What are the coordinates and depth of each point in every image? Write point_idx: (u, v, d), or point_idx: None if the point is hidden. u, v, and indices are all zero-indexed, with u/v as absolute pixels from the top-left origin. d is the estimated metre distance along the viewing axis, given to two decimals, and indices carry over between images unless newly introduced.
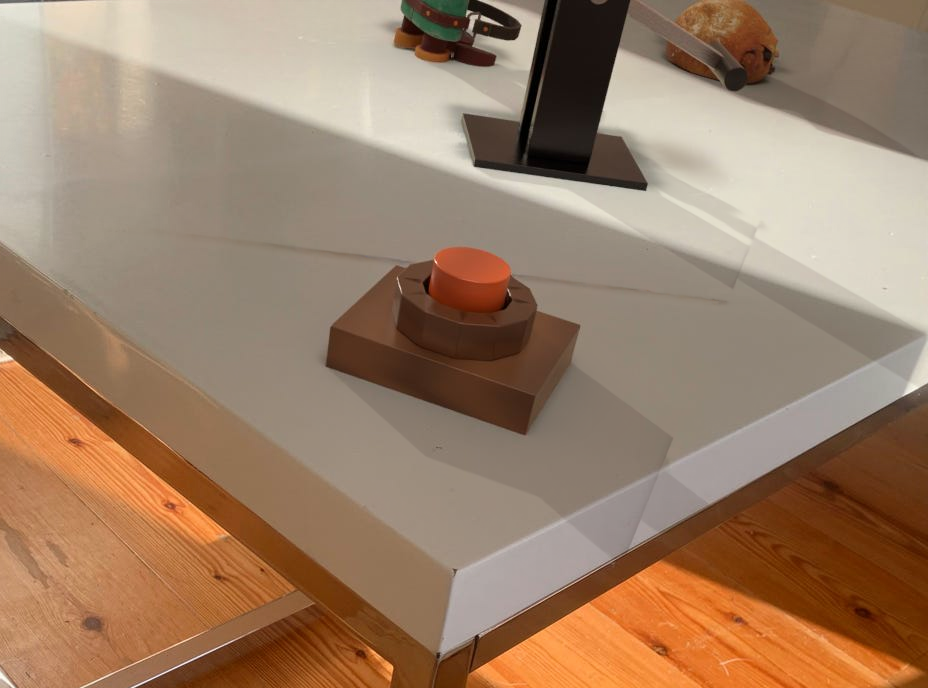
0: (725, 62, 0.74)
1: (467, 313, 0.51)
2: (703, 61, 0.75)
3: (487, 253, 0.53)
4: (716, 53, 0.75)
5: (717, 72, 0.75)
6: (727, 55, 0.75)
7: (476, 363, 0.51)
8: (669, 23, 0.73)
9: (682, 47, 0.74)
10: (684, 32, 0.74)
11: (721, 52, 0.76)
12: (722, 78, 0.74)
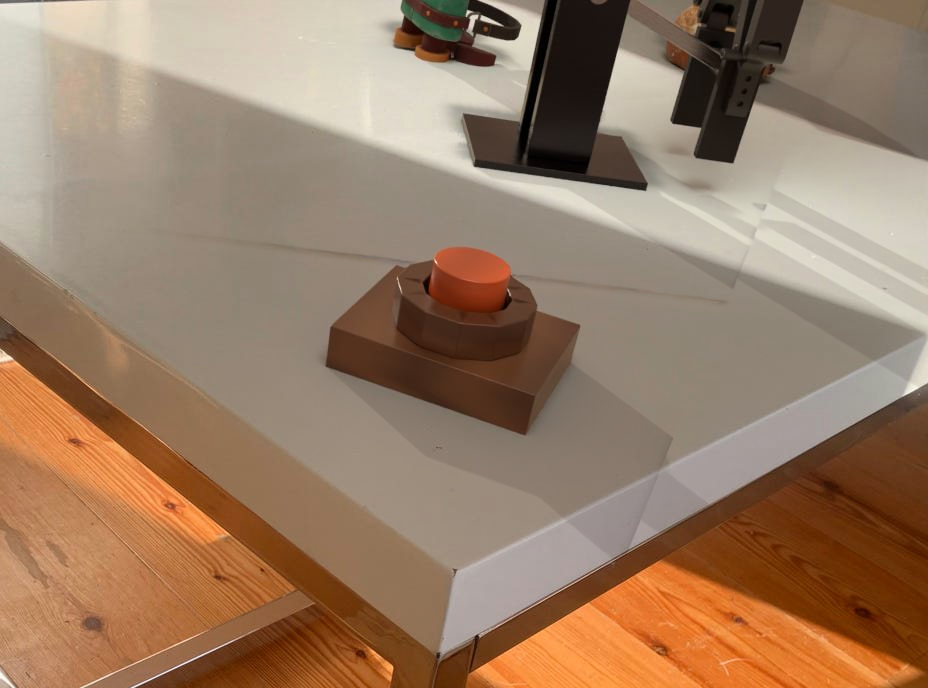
0: None
1: (467, 313, 0.51)
2: (703, 61, 0.75)
3: (487, 253, 0.53)
4: (716, 53, 0.75)
5: (717, 72, 0.75)
6: None
7: (476, 363, 0.51)
8: (669, 23, 0.73)
9: (682, 47, 0.74)
10: (684, 32, 0.74)
11: None
12: None
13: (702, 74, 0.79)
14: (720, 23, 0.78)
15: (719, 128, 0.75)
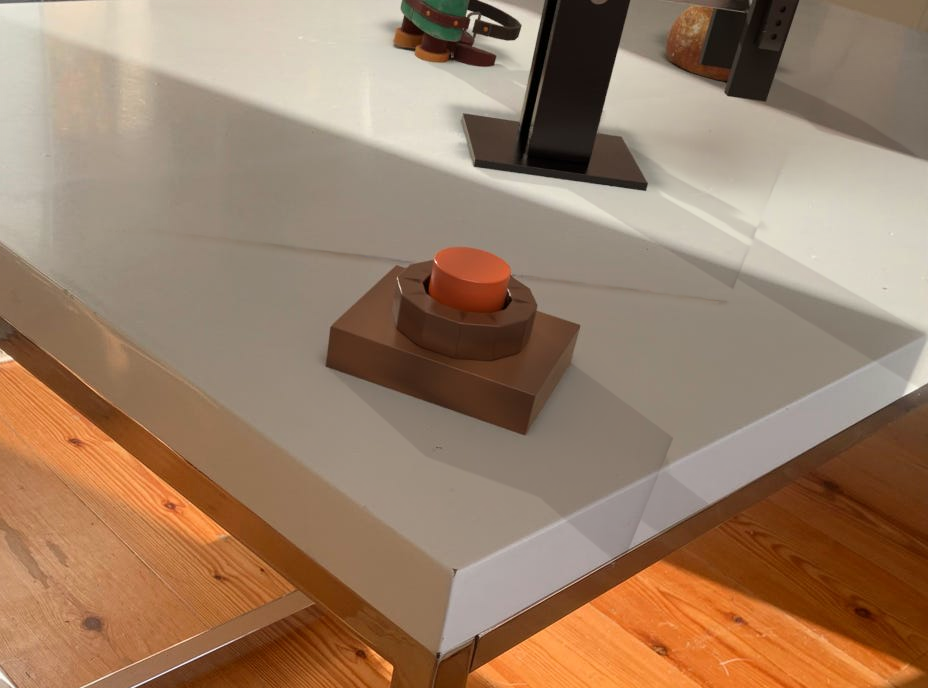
0: (751, 2, 0.72)
1: (467, 313, 0.51)
2: (730, 8, 0.73)
3: (487, 253, 0.53)
4: None
5: (747, 14, 0.73)
6: None
7: (476, 363, 0.51)
8: None
9: (703, 4, 0.73)
10: None
11: None
12: None
13: (732, 12, 0.77)
14: None
15: (752, 63, 0.72)
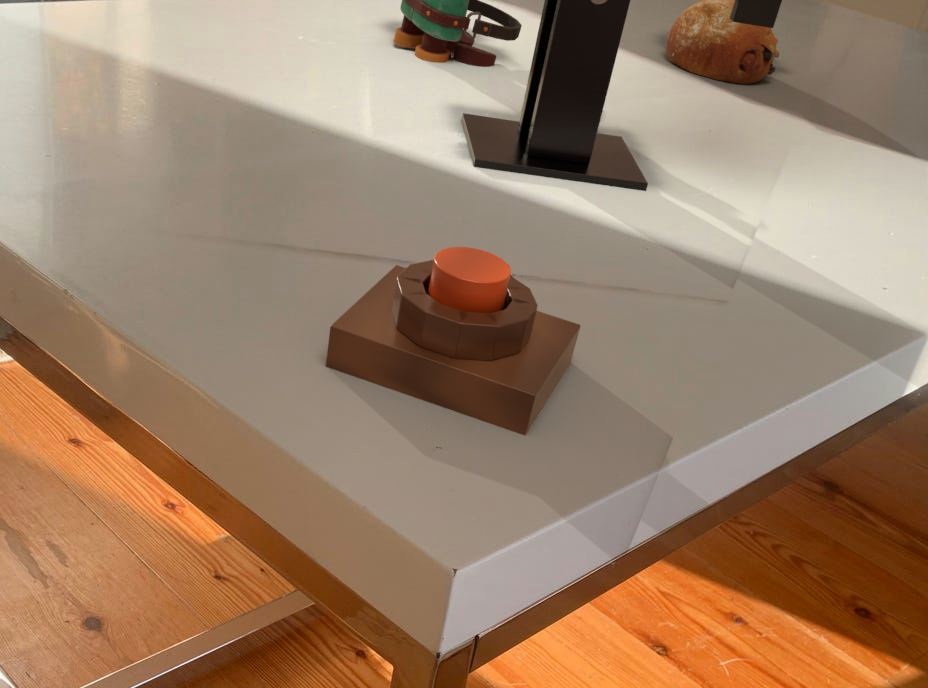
0: None
1: (467, 313, 0.51)
2: None
3: (487, 253, 0.53)
4: None
5: None
6: None
7: (476, 363, 0.51)
8: None
9: None
10: None
11: None
12: None
13: None
14: None
15: None
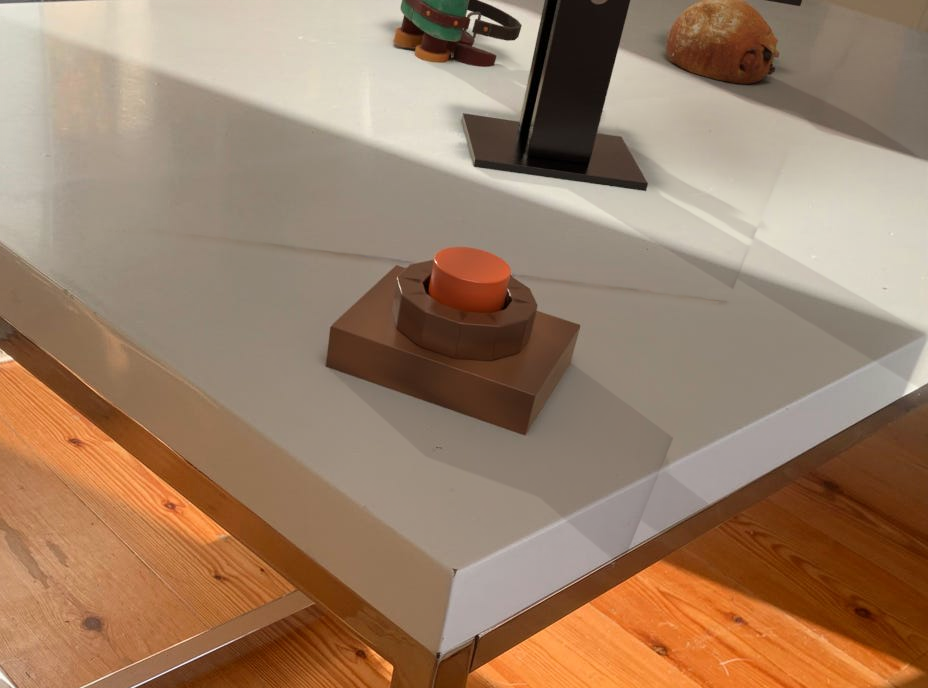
0: None
1: (467, 313, 0.51)
2: None
3: (487, 253, 0.53)
4: None
5: None
6: None
7: (476, 363, 0.51)
8: None
9: None
10: None
11: None
12: None
13: None
14: None
15: None
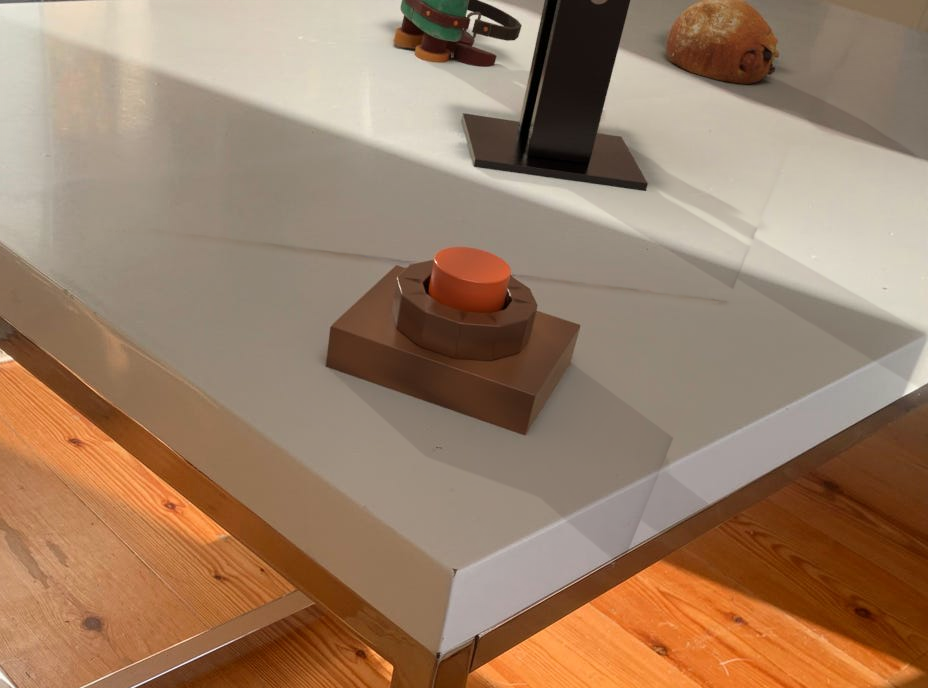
0: None
1: (467, 313, 0.51)
2: None
3: (487, 253, 0.53)
4: None
5: None
6: None
7: (476, 363, 0.51)
8: None
9: None
10: None
11: None
12: None
13: None
14: None
15: None
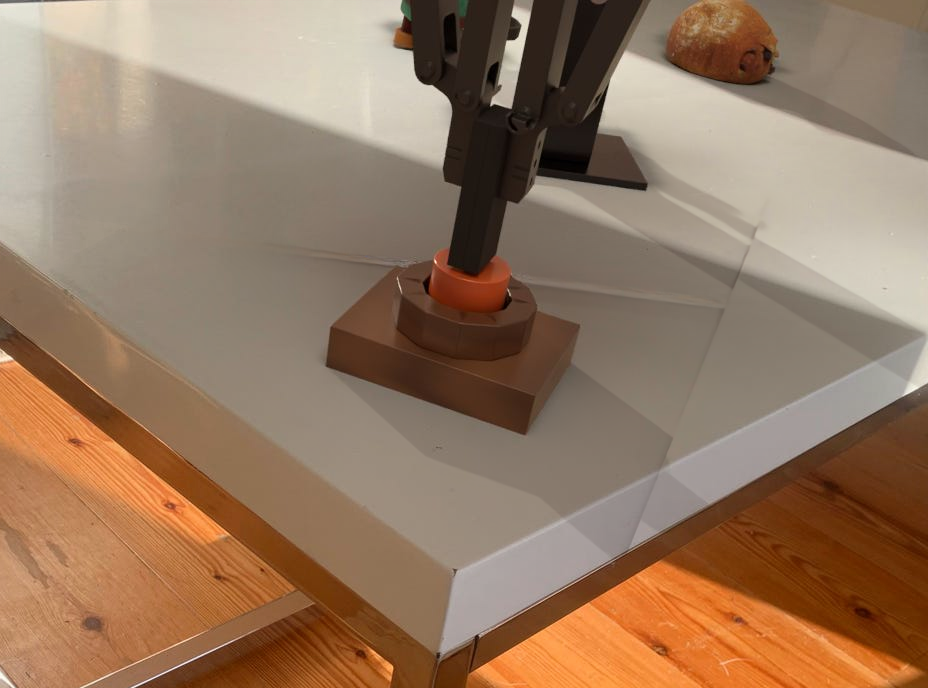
0: None
1: (467, 313, 0.51)
2: None
3: None
4: None
5: None
6: None
7: (476, 363, 0.51)
8: None
9: None
10: None
11: None
12: None
13: None
14: None
15: None
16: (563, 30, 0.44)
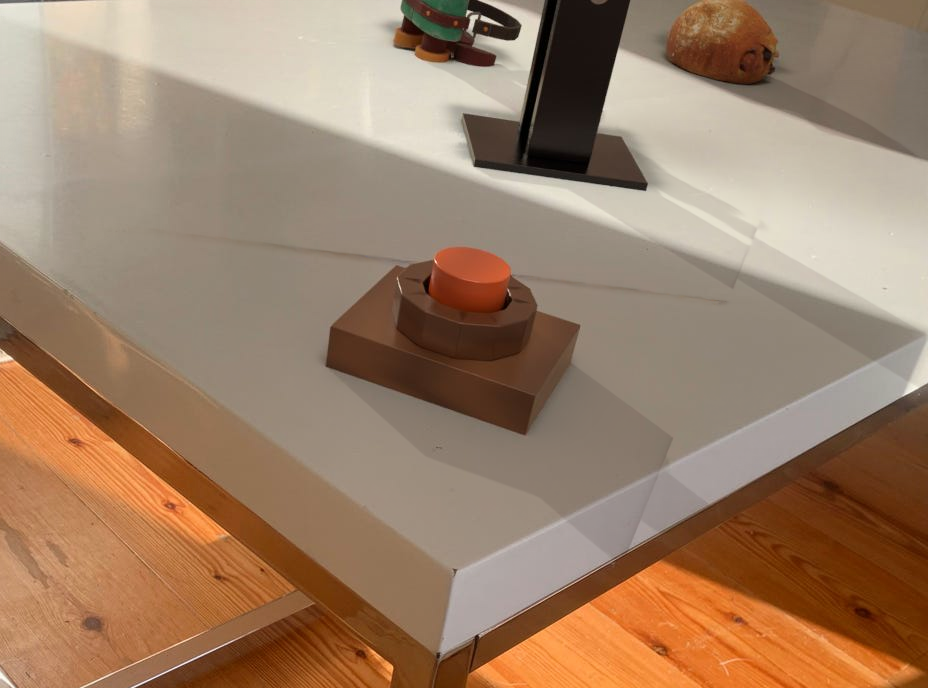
0: None
1: (467, 313, 0.51)
2: None
3: (487, 253, 0.53)
4: None
5: None
6: None
7: (476, 363, 0.51)
8: None
9: None
10: None
11: None
12: None
13: None
14: None
15: None
16: None
